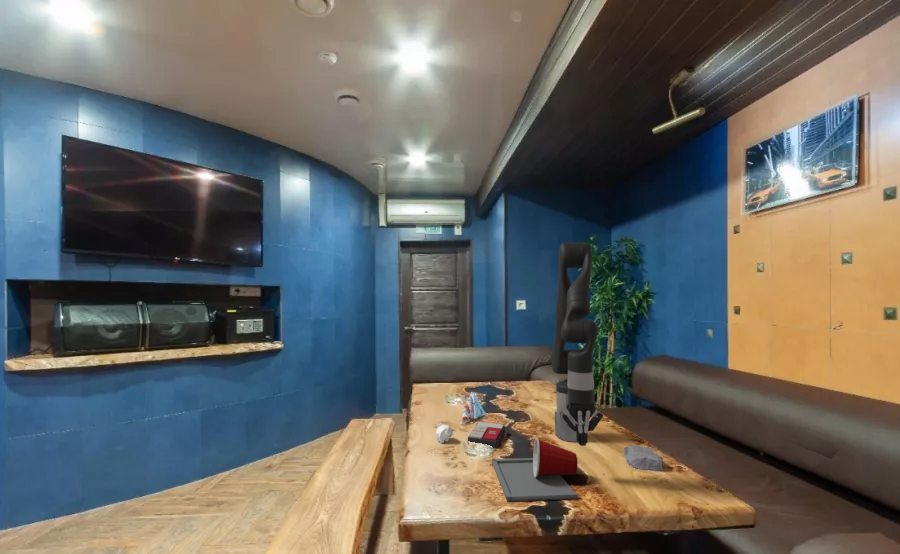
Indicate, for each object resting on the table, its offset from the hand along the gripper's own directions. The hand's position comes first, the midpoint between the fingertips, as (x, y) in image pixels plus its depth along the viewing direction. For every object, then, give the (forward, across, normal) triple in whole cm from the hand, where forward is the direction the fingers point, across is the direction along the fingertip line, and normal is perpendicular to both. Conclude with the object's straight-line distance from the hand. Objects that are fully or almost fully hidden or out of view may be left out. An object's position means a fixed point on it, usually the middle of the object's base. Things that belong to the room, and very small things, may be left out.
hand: (582, 444), depth 106 cm
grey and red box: (+10, +24, -30) cm, 40 cm away
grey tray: (+9, +16, 0) cm, 18 cm away
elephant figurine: (+10, +40, -29) cm, 51 cm away
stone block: (+10, -23, -9) cm, 26 cm away
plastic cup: (+5, +2, 0) cm, 6 cm away
